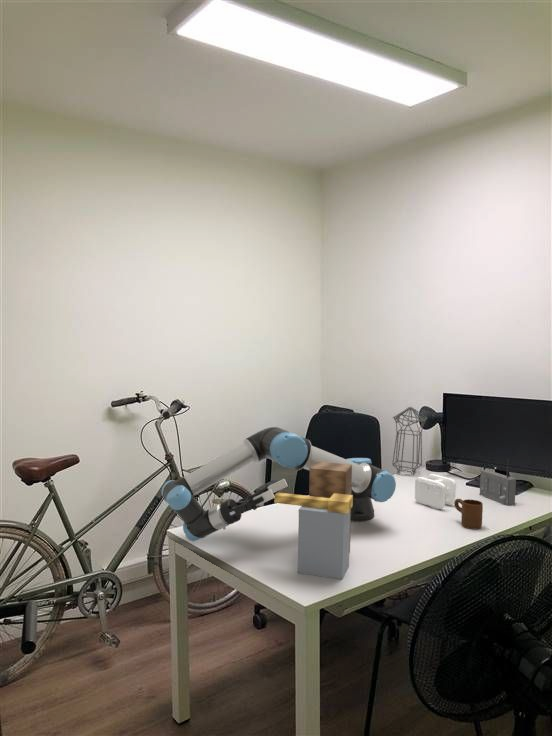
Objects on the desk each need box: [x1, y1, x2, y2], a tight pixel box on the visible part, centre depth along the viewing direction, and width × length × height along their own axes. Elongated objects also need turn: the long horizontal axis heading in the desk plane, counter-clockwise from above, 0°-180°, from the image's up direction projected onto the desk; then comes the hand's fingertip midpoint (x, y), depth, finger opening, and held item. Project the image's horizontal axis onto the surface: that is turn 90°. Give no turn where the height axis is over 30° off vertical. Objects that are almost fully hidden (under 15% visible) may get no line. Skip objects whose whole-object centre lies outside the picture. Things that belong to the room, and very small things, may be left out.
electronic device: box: [479, 458, 517, 507], centre depth 258 cm, size 17×7×20 cm, turn 24°
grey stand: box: [297, 506, 351, 580], centre depth 181 cm, size 14×10×20 cm
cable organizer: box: [414, 473, 457, 510], centre depth 250 cm, size 15×11×12 cm
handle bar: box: [273, 491, 353, 514], centre depth 181 cm, size 24×8×4 cm, turn 72°
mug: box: [453, 498, 484, 530], centre depth 225 cm, size 12×8×9 cm, turn 34°
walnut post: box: [308, 461, 352, 554], centre depth 192 cm, size 12×10×30 cm
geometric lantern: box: [391, 406, 428, 476], centre depth 302 cm, size 16×16×35 cm
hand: (279, 487), depth 184 cm, fingers open, 13 cm apart
